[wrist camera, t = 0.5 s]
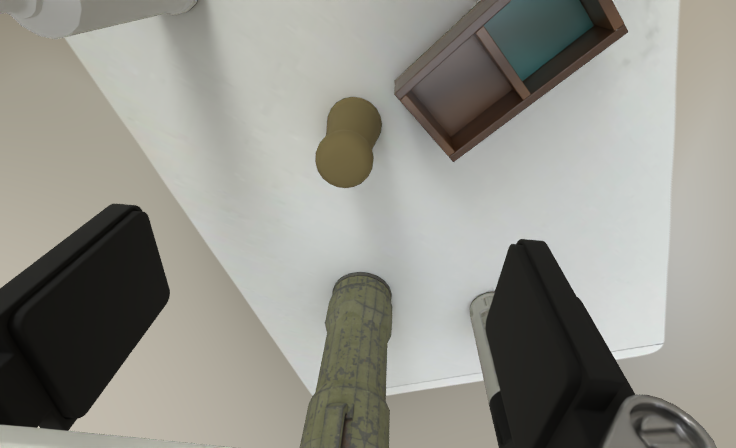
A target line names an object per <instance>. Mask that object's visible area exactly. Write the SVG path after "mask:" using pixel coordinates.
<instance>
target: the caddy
mask: <svg viewBox="0 0 736 448" xmlns="http://www.w3.org/2000/svg"><path fill="white" fill-rule="evenodd" d="M626 33H628V30H627V28H626V26H625V24H624V22H623V20H622V18H621V16H620V15H619V13H618V11H617V9H616V7H615V5H614V3H613V1H612V0H481V1H480V2H479V3H478V4H477V5H476V6H475V7H474V8H473V9H472V10H470V11H469V12H468V13H467V14H466V15H465V16H464V17H463V18H462V19H461V20H460V21H459V22H457V23H456V24H455V25H454V26H453V27H452V28H451V29H450V30H449V31H448V32H447V33H446V34H445V35H443V36H442V37H441V38H440V39H439V40H438V41H437V42H436V43H435V44H434V45H433V46H432V47H430V48H429V49H428V50H427V51H426V52H425V53H424V54H423V55H422V56H421V57H420V58H419V59H418V60H416V61H415V62H414V63H413V64H412V65H411V66H410V67H409V68H408V69H407V70H406V71H405V72H404V73H402V74H401V75H400V76H399V77H398V78H397V79H396V80H395V87H394V94H395V96H396V97H397V98H398V99H399V100H400V101H401V102H402V104H403V105H404V106H405V107H406V108H407V109H408V110H409V112H410V113H411V114H412V115H413V116H414V117H415V119H416V120H417V121H418V122H419V123H420V124H421V125H422V127H423V128H424V129H425V130H426V131H427V132H428V133H429V135H430V136H431V137H432V138H433V139H434V140H435V142H436V143H437V144H438V145H439V146H440V147H441V148H442V150H443V151H444V152H445V153H446V154H447V155H448V156H449V158H450V159H451V160H452V161H453V162H454V161H456V160H457V159H458V158H460V157H461V156H462V155H464V154H465V153H466V152H468V151H469V150H470V149H472V148H473V147H474V146H476V145H477V144H478V143H480V142H481V141H482V140H484V139H485V138H486V137H488V136H489V135H491V134H492V133H493V132H495V131H496V130H497V129H499V128H500V127H501V126H503V125H504V124H505V123H507V122H508V121H509V120H511V119H512V118H513V117H515V116H516V115H517V114H519V113H520V112H521V111H523V110H524V109H525V108H527V107H528V106H529V105H531V104H532V103H533V102H535V101H536V100H538V99H539V98H540V97H542V96H543V95H544V94H546V93H547V92H548V91H550V90H551V89H552V88H554V87H555V86H556V85H558V84H559V83H560V82H562V81H563V80H564V79H566V78H567V77H568V76H570V75H571V74H572V73H574V72H575V71H576V70H578V69H579V68H580V67H582V66H583V65H585V64H586V63H587V62H589V61H590V60H591V59H593V58H594V57H595V56H597V55H598V54H599V53H601V52H602V51H603V50H605V49H606V48H607V47H609V46H610V45H611V44H613V43H614V42H615V41H617V40H618V39H619V38H621V37H622V36H623V35H625V34H626Z"/></svg>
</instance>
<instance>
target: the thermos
mask: <svg viewBox="0 0 736 448" xmlns="http://www.w3.org/2000/svg"><path fill="white" fill-rule="evenodd" d="M325 325H326V330H327V337H326V342H325V347H324V352H323V357H322V362H321V367H320V372H319V378H318V383H317V388H316V392H315V394H314V395H313V397H312V399H311V401H310V403H309V406H308V410H307V415H306V420H305V425H304V430H303V434H302V439H301V444H300V448H389V415H390V410H389V408H388V406H387V404H386V368H387V343H388V341H389V339H390V337H391V330H392V304H391V291H390V288H389V286H388V285H387V284H386V282H385V281H384V280H382V279H381V278H379V277H378V276H376V275H372V274H369V273H361V272H357V273H351V274H348V275H346V276H344V277H341V278H340V279H339V280H338V281H337V282H336V284H335V286H334V288H333V295H332V297H331V299H330V302H329V306H328V311H327V316H326V321H325Z"/></svg>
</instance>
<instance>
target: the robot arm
mask: <svg viewBox="0 0 736 448" xmlns="http://www.w3.org/2000/svg"><path fill="white" fill-rule="evenodd" d="M169 295H170V290H169V286H168V283H167V279H166V276H165V273H164V269H163V266H162V262H161V259H160V255H159V252H158V248H157V245H156V241H155V238H154V235H153V231H152V228H151V224H150V221H149V217H148V215H147V214H146V213H145V212H142V210H141V209H140V207H138V206H136V205H124V204H112V205H109V206H108V207H107V208H105V209H104V210H103V211H101V212H100V213H99V214H97V215H96V216H95V217H93V218H92V219H91V220H90V221H88V222H87V223H86V224H84V225H83V226H82V227H80V228H79V229H78V230H77V231H75V232H74V233H72V234H71V235H70V236H69V237H67V238H66V239H65V240H63V241H62V242H61V243H59V244H58V245H57V246H55V247H54V248H53V249H51V250H50V251H49V252H48V253H46V254H45V255H44V256H42V257H41V258H40V259H38V260H37V261H36V262H34V263H33V264H32V265H31V266H29V267H28V268H27V269H25V270H24V271H23V272H21V273H20V274H19V275H18V276H16V277H15V278H13V279H12V280H11V281H9V282H8V283H7V284H5V285H4V286H3V287H2V288H0V448H233V447H224V446H214V445H204V444H195V443H184V442H175V441H164V440H156V439H145V438H135V437H124V436H114V435H105V434H94V433H85V432H74V431H68V430H69V429H70V427H71V426H72V425H73V424H74V422H75V421H76V420H77V418H81V417H83V416H84V415H85V414H86V413H87V412H88V411H89V409H90V408H91V406H92V405H93V404H94V402H95V401H96V400H97V398H98V397H99V396H100V394H101V393H102V392H103V390H104V389H105V387H106V386H107V385H108V383H109V382H110V381H111V379H112V378H113V376H114V375H115V373H116V372H117V371H118V370H119V368H120V367H121V365H122V364H123V363H124V361H125V360H126V358H127V357H128V356H129V354H130V353H131V352H132V350H133V349H134V348H135V346H136V345H137V343H138V342H139V341H140V339H141V338H142V337H143V335H144V334H145V333H146V331H147V330H148V328H149V327H150V326H151V324H152V323H153V321H154V320H155V319H156V317H157V316H158V315H159V313H160V312H161V311H162V309H163V308H164V306H165V305H166V304H167V302H168V299H169ZM485 329H486V335H487V339H488V343H489V347H490V351H491V355H492V359H493V363H494V367H495V371H496V375H497V379H498V383H499V388H500V392H501V396H502V400H503V404H504V408H505V412H506V416H507V420H508V424H509V428H510V432H511V436H512V440H513V444H514V448H717V447H716V445H715V443H714V441H713V439H712V438H711V437H710V436H709V434H708V433H707V432H706V430H705V429H704V428H703V427H702V426H701V425H700V424H699V423H698V422H697V421H696V420H695V419H694V418H693V417H691V416H690V415H689V414H687V413H686V412H685V411H683V410H682V409H680V408H679V407H677V406H676V405H674V404H671V403H669V402H667V401H665V400H663V399H660V398H657V397H653V396H650V395H635V393H634V392H633V390H632V388H631V386H630V384H629V383H628V381H627V379H626V378H625V376H624V374H623V372H622V371H621V369H620V367H619V365H618V364H617V362H616V360H615V358H614V357H613V355H612V353H611V351H610V350H609V348H608V346H607V345H606V343H605V341H604V339H603V338H602V336H601V334H600V332H599V331H598V329H597V327H596V325H595V324H594V322H593V320H592V319H591V317H590V315H589V313H588V312H587V310H586V308H585V306H584V305H583V303H582V302H581V300H580V299H579V298H578V297H576V295H575V293H574V291H573V290H572V288H571V286H570V284H569V283H568V281H567V279H566V277H565V275H564V274H563V272H562V270H561V268H560V267H559V265H558V263H557V261H556V260H555V258H554V256H553V254H552V253H551V251H550V249H549V247H548V246H547V244H546V243H545V242H544V241H537V240H525V239H520V240H519V241H518V242H517V244H511V245H510V247H509V249H508V252H507V255H506V258H505V262H504V265H503V268H502V271H501V274H500V277H499V281H498V284H497V287H496V290H495V293H494V296H493V300H492V303H491V306H490V309H489V312H488V315H487V319H486V326H485ZM38 426H39V427H40V428H37V427H38Z"/></svg>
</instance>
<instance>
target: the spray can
mask: <svg viewBox="0 0 736 448" xmlns="http://www.w3.org/2000/svg"><path fill="white" fill-rule="evenodd" d="M494 293H495V292H488V293H486V294H483V295H481V296H479V297H477V298H476V299H475V300H474V301H473V302H472V304H471V307H470V317H471V322H472V326H473V331H474V336H475V340H476V345H477V350H478V355H479V359H480V364H481V369H482V373H483V378H484V383H485V387H486V392H487V397H488V401H489V406H490V411H491V415H492V419H493V424H494V428H495V432H496V436H497V441H498V446H499V448H514V444H513V440H512V436H511V432H510V428H509V424H508V420H507V416H506V412H505V408H504V404H503V400H502V396H501V392H500V388H499V383H498V379H497V375H496V371H495V367H494V363H493V359H492V355H491V351H490V347H489V343H488V339H487V335H486V329H485V326H486V319H487V315H488V312H489V309H490V306H491V303H492V300H493V296H494Z"/></svg>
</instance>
